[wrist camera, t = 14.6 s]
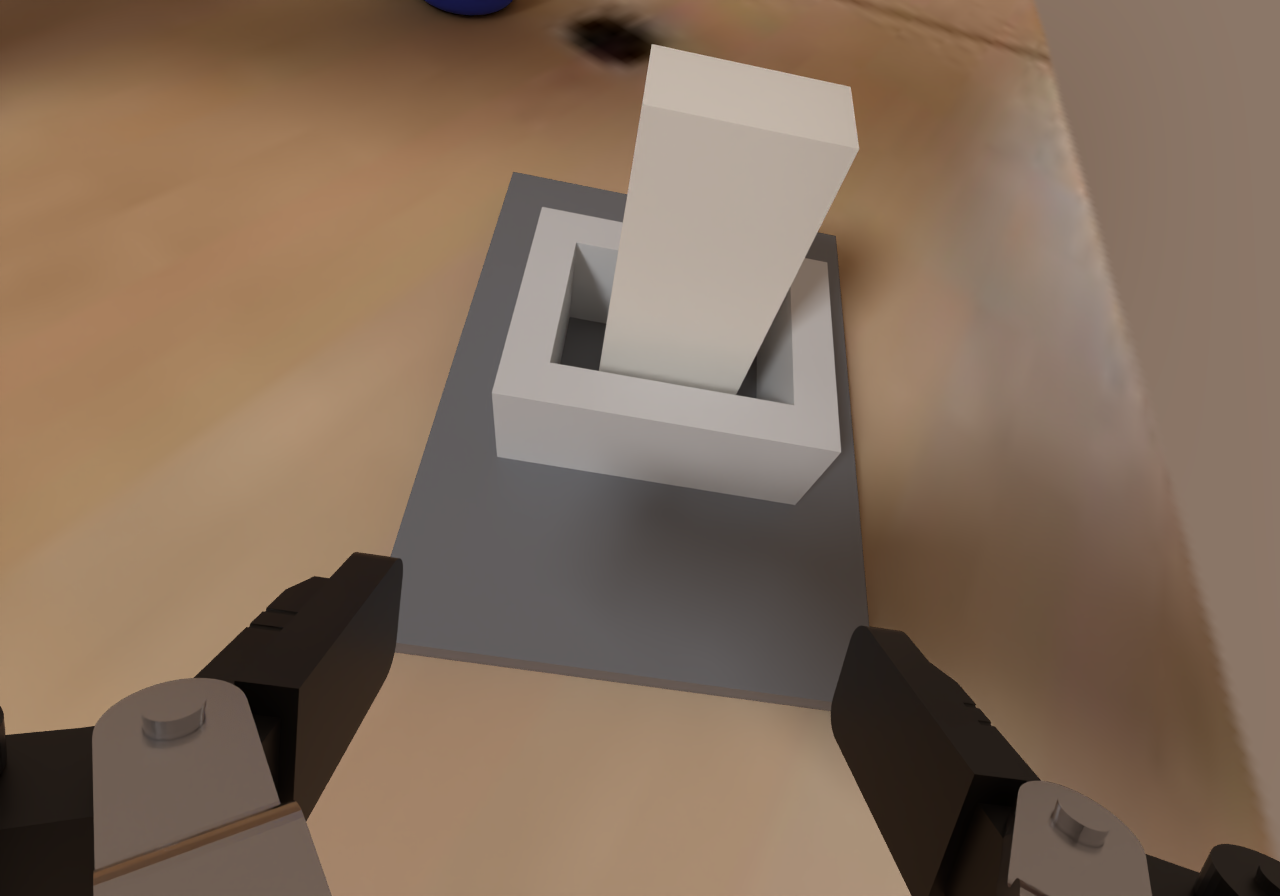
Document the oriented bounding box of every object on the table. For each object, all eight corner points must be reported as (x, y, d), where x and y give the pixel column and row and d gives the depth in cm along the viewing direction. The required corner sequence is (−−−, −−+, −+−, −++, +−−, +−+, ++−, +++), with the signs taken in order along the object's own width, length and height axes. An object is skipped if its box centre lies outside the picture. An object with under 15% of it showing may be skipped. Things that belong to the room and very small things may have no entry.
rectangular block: (601, 353, 25) (651, 43, 15) (722, 374, 26) (850, 86, 16) (593, 404, 24) (642, 104, 14) (720, 425, 25) (859, 148, 14)
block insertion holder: (513, 198, 31) (511, 89, 27) (823, 258, 33) (873, 165, 28) (374, 649, 20) (328, 599, 15) (855, 714, 21) (947, 686, 17)
